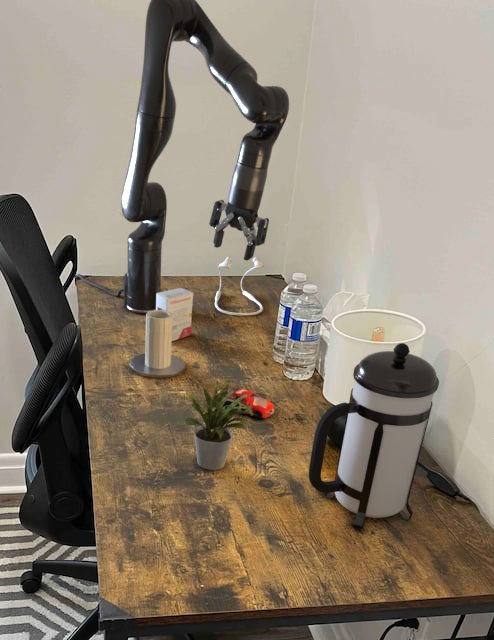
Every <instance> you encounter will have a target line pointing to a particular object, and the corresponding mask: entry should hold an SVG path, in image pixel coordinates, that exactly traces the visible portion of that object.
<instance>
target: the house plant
mask: <svg viewBox="0 0 494 640" xmlns="http://www.w3.org/2000/svg"><path fill="white" fill-rule="evenodd" d="M230 384H231V378H230V379H228V380H227V381H225V382H224V384H223V386H221V388H220V389H221V391H220V393H219V395H218V396H217V392H218V385H219V380H217V381H216V382H215V385H214V388H213V394H212V396H211V394H210V392H209V390H208V388H207V387H206V386H205V384H203V383H201V387H202V389H203V393H202V392H200V390H197V389H192V390H193V391H195V392H198V393H199V394H201V395H202V397H203V399H204V401H205V404H206V410H207V411H206V410H205V409H204V407H203V405H202V403H201V401H200V400H199V398H198V397H196V396H195V394H194V393H193V392H190V391H188V392H189V393H187V392H185V395H187V396H188V397H189V398H190V399H189V398H186V397H182V396H181V397H179V396H177V397H176V399H185V400H188V401H190V402H191V406H192V408H194V409H195V410H196V411H197V412H198V413H199V415H200V416H201V418H202V420H203V423H204V425H203V424H201V423H200V422H199V421H198V420H197V419H195V418H193V417H187V418H185V420H184V422H183V425H184V427H186V426H187V427H188V426H196V425H197V426H198V427H197V428H195V430H194V432H193V436H194V443H195V452H196V460H197V465H198V466H199V467H200V468H202V469H204V470H209V471H216V470H220V469H222V468H224V467H225V466H226V462H227V458H228V455H229V451H230V447H231V444H232V440H233V436H234V433H233V431H231V428H235V429H242V430H245V431H247V429H246V427H245V425H249V426H250V427H251V424H250V422H249V420H247V418H243V417H234V416H236V415H241V414H244V413H248V414H253V413H250V412H247V411H240V410H237V409H235V408H244V409H249V408H246V407H240V406H239V407H234V406H236V405H237V404H238V403H239V402H240V401H241V400H242V399H243V398H245V397H247V396H249V395H251V394H247V395H243V396H241V397H239V398H238V399H237V400H235V401H234V402H233V403H232V404H230V405H227V406H228V407H227V406H224V407H223V404H224V403H225V402H226V400H227V399H228V397H229V396H230V395H231V394H232V393H233V392H234V391H235V390H236V389H237V388H238V387H236V389H234V390H233V391H231V392H230V393H229V394H228V388H229V386H230ZM226 407H227V409H226V410H225V408H226ZM231 409H235V410H231ZM254 415H256V414H253V416H254ZM199 425H200V426H199ZM184 427H183V428H184Z"/></svg>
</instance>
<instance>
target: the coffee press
mask: <svg viewBox="0 0 494 640" xmlns="http://www.w3.org/2000/svg"><path fill="white" fill-rule="evenodd" d="M410 352H411V351H410V347H409V345H408V344H406V343H404V342H400V343H397V344H396V345H395V347H394V348H393V350H382V351H377V352H372V353H371V354H368V355H366V356H365V357H363V358H362V359H361V360H360V362H359V363H358V364H356V366H355V367H354V368H353V373H352V377H353V380H354V382H353V387H352V389H351V390H350V396H349V400H348V402H341V403H338V404H336V405H333V406H332V407H330V408H328V409H327V410H326V412H324V414H323V415H322V416H321V417H320V419H319V421H318V423H317V425H316V428H315V432H314V437H313V442H312V448H311V453H310V460H309V467H308V480H309V483H310V484H311V486H312V487H313V488H314V489H315V490H316V491H317V492H320V493H324V497H325V499H328V500H332V499H334V498H336V499H337V502H339V504H340V505H341V506H342V507H344V508H345V509H346V510H348V511H349V512H351V513H353V514H356V516H355V520H354V523H353V528H355V529H359V530H363V527H364V524H365V521H366V518H374V519H375V518H376V519H380V518H382V519H383V518H389V517H392V516H395V515H396V514H399V516H400V517H401V518H402V519H403V520H404V521H410V520H411V519H412V517H413V510H412V508H411V505H410V503H409V499H410V495H411V491H412V487H413V483H414V479H415V475H416V471H417V467H418V464H419V459H420V455H421V452H422V449H423V445H424V440H425V436H426V432H427V429H428V425H429V420H430V417H431V412H432V410H433V398H434V394H435V393H436V392H437V391H438V388H439V385H440V379H439V378H438V376H437V371H436V369H435V368H434V366H432V364H431V363H430V362H428V361H427V360H426V359H424V358H422V357H420V356H418V355H415V354H412V353H410ZM344 416H346V417H345V421H344V428H343V433H342V439H341V442H340V443H341V444H340V449H339V455H338V460H337V465H336V470H335V475H334V480H330V481H329V480H328V481H324V480H322V470H323V463H324V456H325V451H326V447H327V446H326V445H327V441H328V440H327V439H328V435H329V430H330V429H331V427H332V425H333V423H335V421H336V420H338V419H340V418H341V417H344ZM331 493H334V494H331ZM404 508H406V510H407V512H408V514H409V515H407V514H405V513H404V511H403V509H404Z"/></svg>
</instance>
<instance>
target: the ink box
mask: <svg viewBox="0 0 494 640" xmlns="http://www.w3.org/2000/svg"><path fill="white" fill-rule="evenodd" d="M193 304H194V292H192V291H190V290H188V289H186V288H183V287H177V288H173V289H169V290H164V291H160V293H157V294H156V310H164V311H168V312H170V313H172V315H173V322H172V342H174V341H177V340H180V339H184V338H187V337H190V336H191V334H192V319H193Z"/></svg>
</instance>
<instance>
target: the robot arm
mask: <svg viewBox="0 0 494 640" xmlns="http://www.w3.org/2000/svg"><path fill="white" fill-rule="evenodd" d="M174 42H175V43H177V42H186V43H188V44H189V45H190V46H193V48H196V49H197V50H198V51H199V53H201V55H202V56H203V58H204V61H205V64H206V67H207V70H208V72H209V74H210V76H211V77H212V79H213V80H214V81H215V82H216V83H217V84H218V85H219V86H220V87H221V88H222V89H223V90H225V92H226V93H228V94H229V96H231V98H232V100H233V102H234V104H235V105H236V107H237V109H238V111H239V113H240V114H241V115H242V116H243V117H244V118H245V119H246V120H247V121H249V122H251V123H252V124H254V126H253V128H252V129H251V130H250V131H248V132H247V133H245V134H244V135H243V137H242V139H241V142H240V146H239V150H238V154H237V160H236V163H235V166H234V169H233V173H232V176H231V182H230V187H229V191H228V195H227V202H225V201H224V200H223V199H220V200H216V201H215V202H214V203H213V207H212V212H211V214H210V219H209V223H208V224H209V227H212V228H213V229H214V231H215V232H214V237H213V241H212V242H213V244H214V245H213V247H214V248H216V249H217V248H221V247H222V245H223V239H224V236H225V231H224V230H225V229H226V228H227V227H230V228H232V229H233V228H234V229H236V230H238V231H240V232H242V234H243V236H244V237H245V238H246V242H247V244H246V248H245V252H244V256H243V260H244V261H247V262H248V261H250V260H251V259H253V258H254V254H255V251H256V247H259V246H262V245H264V244H265V242H266V239H267V233H268V229H269V223H270V219H269V218H268V217H265V218H264V217H260V216H259V209H260V206H261V203H262V199H263V195H264V190H265V186H266V181H267V178H268V170H269V165H270V160H271V157H272V153H273V148H274V145H275V144H276V142H277V140H278V138H279V136H280V134H281V132H282V129H283V127H284V125H285V123H286V121H287V118H288V115H289V111H290V98H289V95H288V93H287V90H286V89H284V88H283V87H281V86H278V85H261V84H259V82H258V73H257V71H256V69H255V68H254V67H253V65H252V64H250V63H249V61H247V60H246V59H245V58H244V57H243V56H242V55H241V54H240V53H239V52H238V51H237V50H236V49H234V47H233V46H232V45H230V43H229V42H228V41H227V40H226V39H225V38H224V36H223V35H222V34H221V32H220V31H219V30H218V29H217V27H216V26H215V24H214V23H213V22H212V21H211V19H210V18H209V17H208V15H207V13H206V11H204V9H203V8H202V6H201V4H199V3H198V1H197V0H150V2H149V3H148V7H147V10H146V16H145V29H144V47H143V48H144V50H143V64H142V73H141V81H140V89H139V96H138V101H137V107H136V114H135V121H134V131H133V139H132V143H131V144H132V145H131V151H130V156H129V157H130V158H129V161H128V165H127V169H126V173H125V179H124V183H123V187H122V192H121V198H120V199H121V200H120V206H121V207H120V208H121V213H122V215H123V217H124V219H125V220H126V221H127V222H129V223H140V224H139V226H138V227H137V228H136V229H134V230H133V231H132V232H130V233H129V234H128V236H127V263H126V264H127V267H126V269H127V272H126V273H125V274H124V275H123V276H124V277H123V287H120V288H119V289H118V290H117V292H114V291H112V290H110V289H108V288H107V287H105V286H103V285H101V284H98V283H95V282H93V281H91V280H89V279H86V277H84V276H83V275H82V274H81V273H77V274H76V275H75V276H76V277H75V276H74V279H80V280H82V282H84V283H85V284H88V285H90V286H92V287H94V288H96V289H99V290H102V291H104V292H105V293H107V294H109V295H111V296H114V297H120V296H121V295H122V292H123V293H124V295H123V298H124V299H123V307H124V309H127V310H128V311H129V312H131V313H135V314H144V315H146V314H147V312H149V311H153V310H156V294H157V293H160V292H161V288H162V287H161V284H162V254H163V253H162V249H163V248H162V247H163V240H164V238H165V234H166V223H167V222H166V221H167V211H168V210H167V209H168V199H167V194H166V191H165V189H164V187H163V185H162V184H161V183H159V182H156V181H155V182H154V181H151V182H150V181H149V178H150V174H151V172H152V169H153V167H154V165H155V164H156V162H157V160H158V159H159V157H160V156H161V155H162V153H163V152H164V150H165V148H166V147H167V146H168V144H169V141H170V140H171V137H172V134H173V130H174V125H175V124H174V123H175V121H176V120H175V119H176V113H177V100H176V95H175V92H174V88H173V85H172V81H171V78H170V73H169V64H170V55H171V49H172V45H173V43H174ZM223 212H225V217H224V218H223V219H222V220H221V217H222V213H223ZM255 224H256V226H255ZM256 227H257V230H256Z"/></svg>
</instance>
